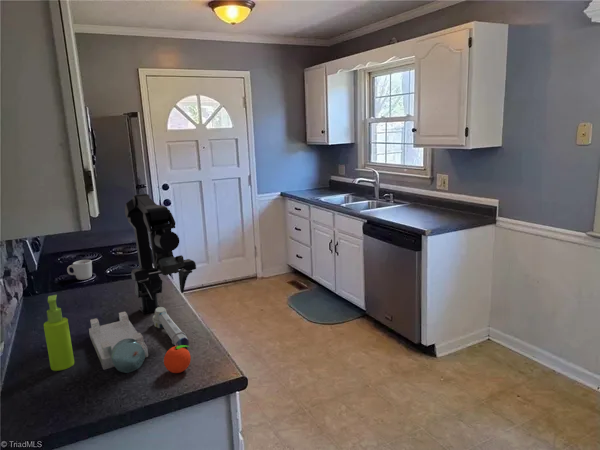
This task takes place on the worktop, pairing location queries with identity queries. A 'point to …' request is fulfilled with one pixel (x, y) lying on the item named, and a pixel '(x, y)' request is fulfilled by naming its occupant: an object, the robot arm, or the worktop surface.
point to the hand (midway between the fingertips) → (167, 296)
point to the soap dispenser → (58, 338)
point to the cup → (81, 269)
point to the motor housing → (118, 344)
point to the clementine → (177, 359)
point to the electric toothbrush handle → (169, 327)
